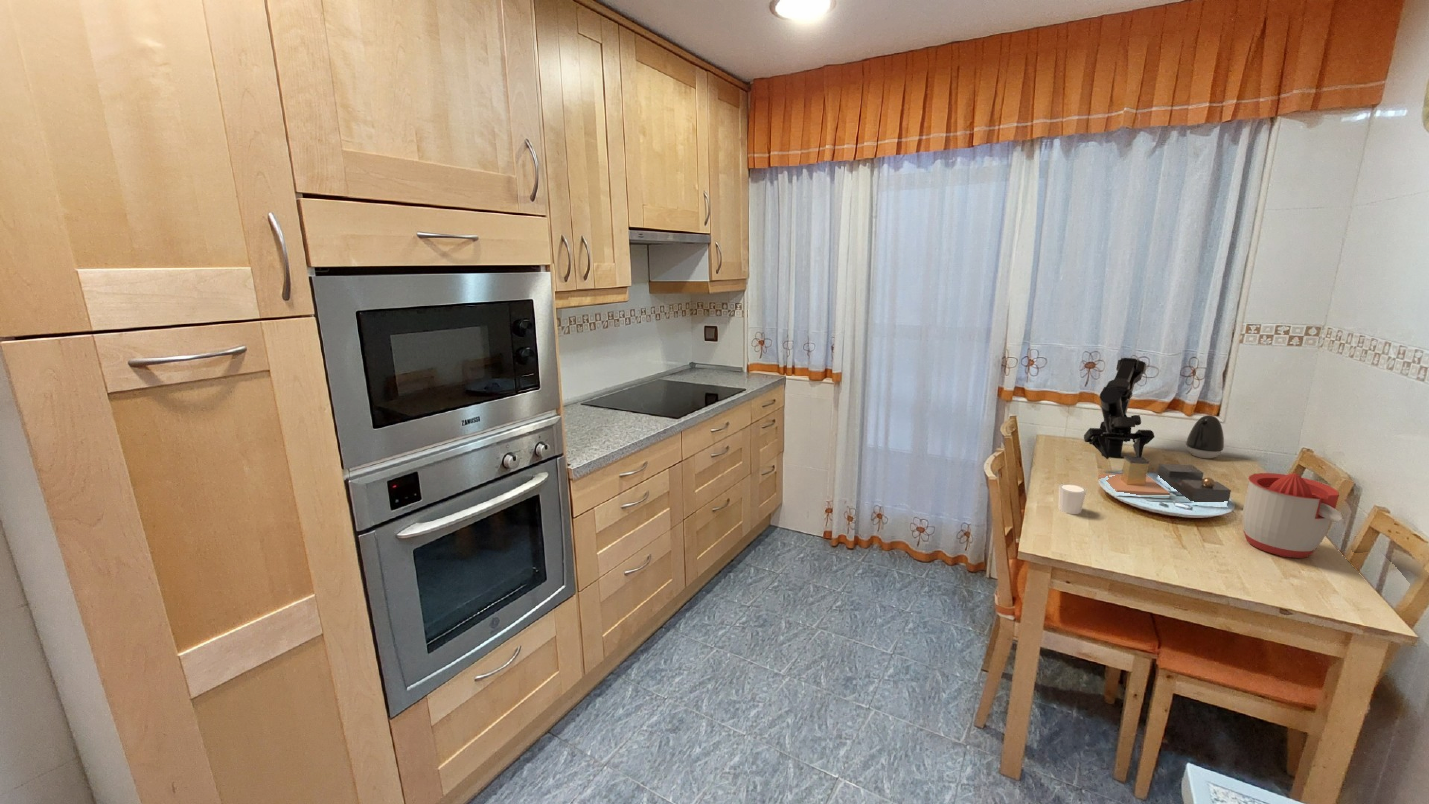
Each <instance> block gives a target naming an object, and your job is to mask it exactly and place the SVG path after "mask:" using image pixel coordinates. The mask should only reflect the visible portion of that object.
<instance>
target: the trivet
mask: <svg viewBox="0 0 1429 804" xmlns="http://www.w3.org/2000/svg"><path fill="white" fill-rule="evenodd" d="M1109 475H1115V476H1112V477H1109ZM1106 476H1108V478H1109V479H1108V480H1106V481H1107V482H1108V483H1109V484H1110V486H1111V487H1112V488H1113V489H1115V491H1116V492H1124V493H1130V494H1136V495H1171V492H1169V491H1168V490H1167V489H1165V488H1164V487H1163V486H1162V485H1160V484H1159V483H1158V482H1156V481H1155V480H1154V479H1153V478H1151V477H1150V476H1149V475H1147V476H1146V482H1145V486H1142V485H1126V484H1125V483H1124V482H1123V481H1122V480H1121V476H1122V473H1102V472H1101V473H1100V472H1099V473H1098V476H1097V480H1099V479H1101V478H1105V477H1106Z"/></svg>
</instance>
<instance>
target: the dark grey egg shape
mask: <svg viewBox="0 0 1429 804" xmlns="http://www.w3.org/2000/svg"><path fill="white" fill-rule="evenodd" d="M1187 436H1188V437H1187V439H1186V441H1185V444H1186V448H1187V451H1188V452H1189V453H1190V454H1191V455H1192V456H1194V457H1195V458H1200V459H1208V460H1209V459H1214V458H1217V457H1218V456H1220V454H1221V453H1222V451H1223V450H1224V447H1225V438H1224V437H1225V436H1224V431H1223V427H1222V424H1221V422H1220V420H1219V419H1218V417H1216V416H1214V415H1203V416H1201V417H1200V418H1199V419H1197V421H1196V422H1195V424H1194V425H1193V427H1192V428H1191V430H1190V432H1189V434H1188V435H1187Z"/></svg>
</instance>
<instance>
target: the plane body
mask: <svg viewBox="0 0 1429 804" xmlns="http://www.w3.org/2000/svg"><path fill="white" fill-rule="evenodd" d="M1157 475H1159V476H1160V478H1162V479H1163V480H1164V481H1166V482H1167V483H1168V484H1169V485H1170V486H1171V487H1173V488H1174V489H1176V490H1177V491H1178V492H1180V493H1181V494H1182V495H1184V496H1185V497H1186V498H1188V499H1189V500H1190V501H1194V502H1224V501H1228V503H1229V501H1230V497H1231V492H1232V489H1230V488H1229V487H1227V486H1225V485H1224V484H1223V483H1220V482H1219V481H1215V480H1214V479H1213V478H1211V477H1204V472H1203V471H1202V470H1200V469H1199V468H1197V467H1196V466H1194V465H1192V464H1173V463H1159V465H1158V469H1157Z"/></svg>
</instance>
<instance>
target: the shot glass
mask: <svg viewBox="0 0 1429 804" xmlns="http://www.w3.org/2000/svg"><path fill="white" fill-rule="evenodd" d="M1086 493H1087V489H1086V488H1085V487H1083V486H1081V485H1078V484H1072V483H1062V484H1059V486H1058V510H1059V511H1060V510H1061V512H1062V511H1063V513H1065V514H1068V513H1069V515H1080V514H1081V513H1082V510H1083V505H1084V502H1085V498H1086ZM1079 513H1080V514H1079Z"/></svg>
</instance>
